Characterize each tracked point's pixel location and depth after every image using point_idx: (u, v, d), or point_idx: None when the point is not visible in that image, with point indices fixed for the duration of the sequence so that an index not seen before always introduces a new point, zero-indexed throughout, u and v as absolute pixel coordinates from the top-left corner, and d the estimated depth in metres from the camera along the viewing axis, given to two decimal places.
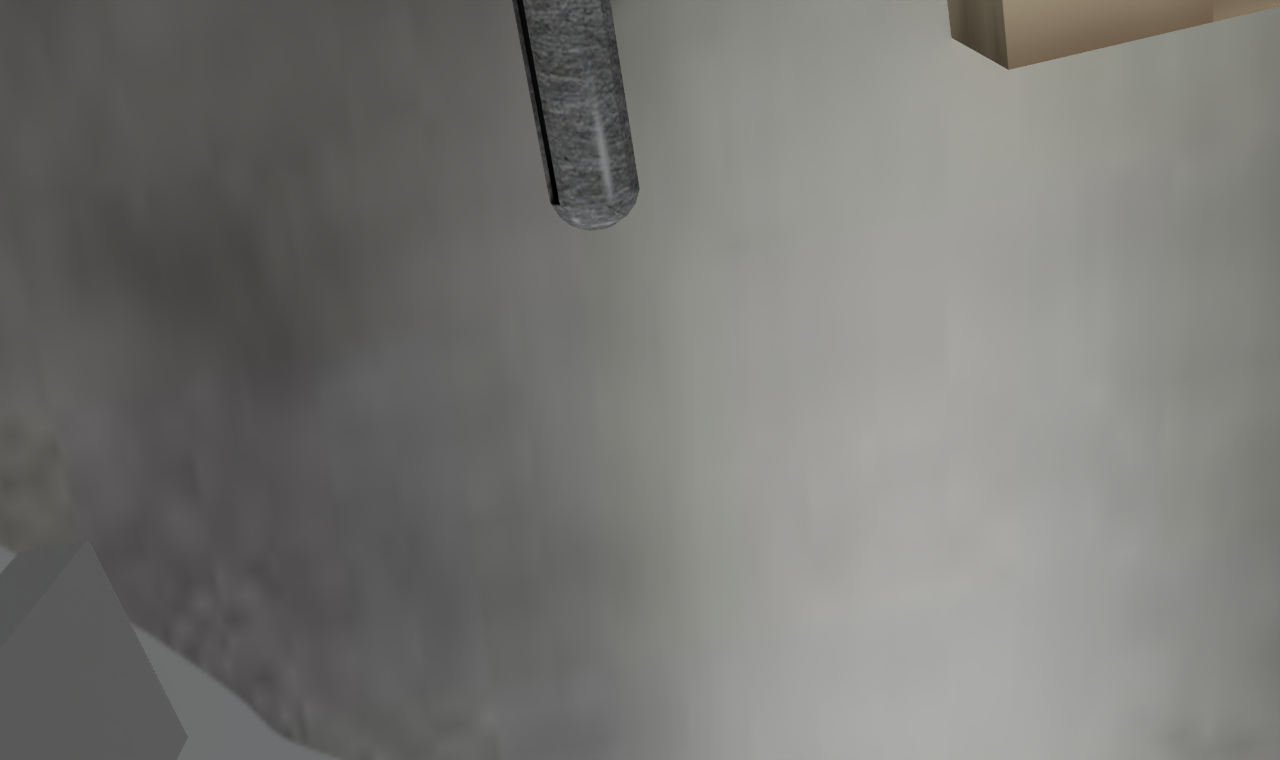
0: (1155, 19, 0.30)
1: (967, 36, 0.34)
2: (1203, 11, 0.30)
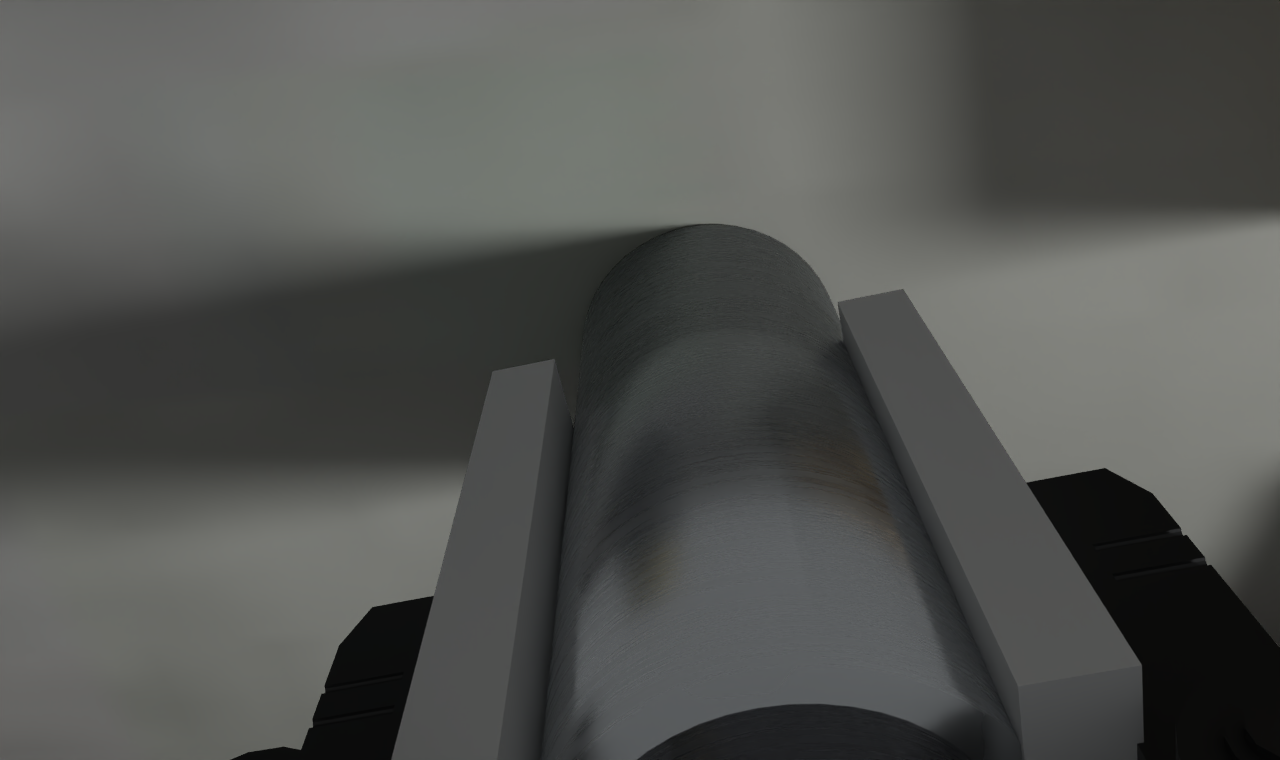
0: None
1: None
2: None
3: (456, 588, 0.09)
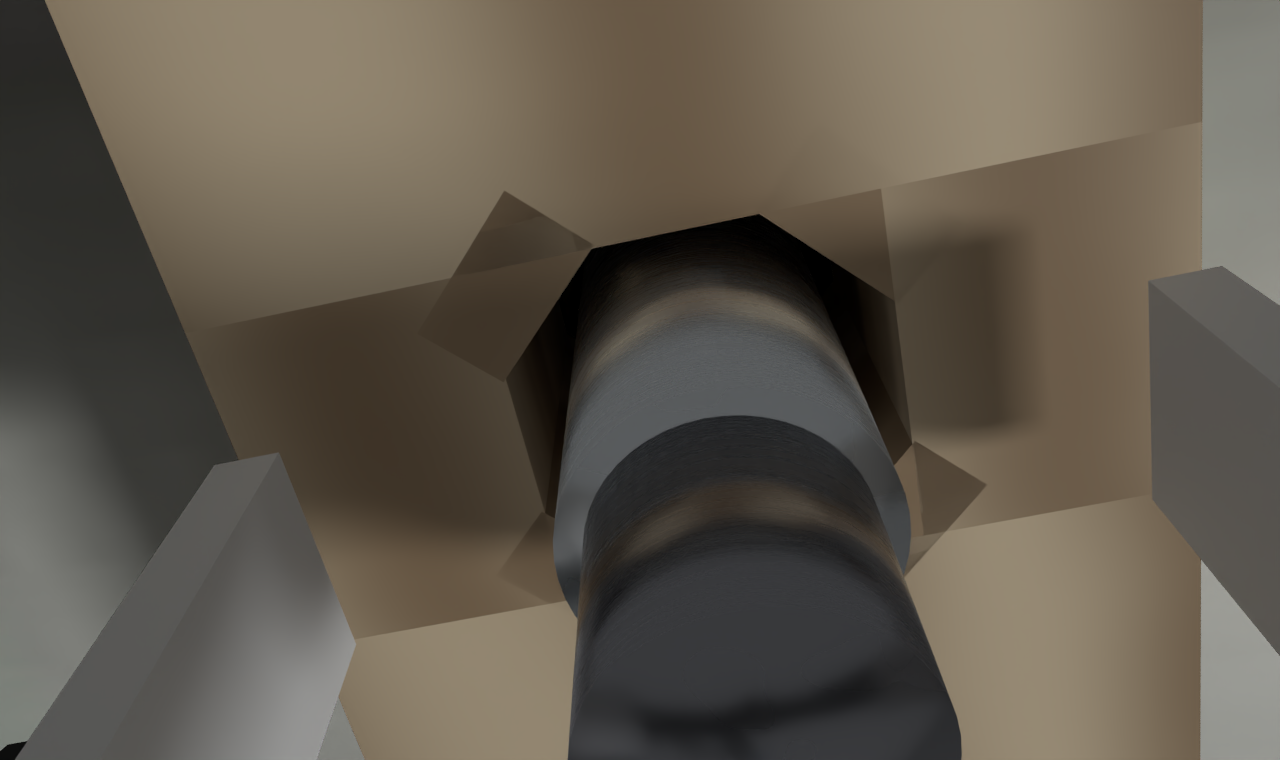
0: (1168, 588, 0.15)
1: None
2: None
3: (46, 744, 0.08)
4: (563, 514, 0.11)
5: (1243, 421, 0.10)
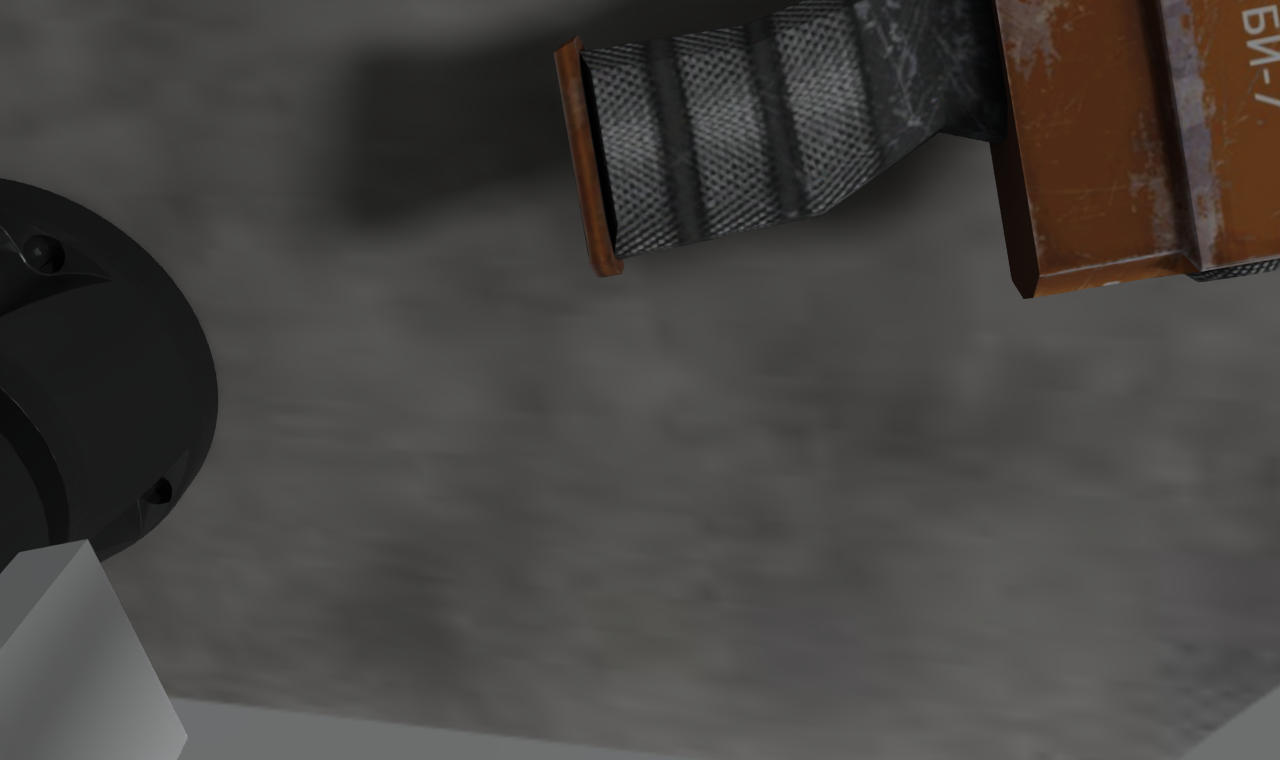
0: None
1: None
2: None
3: None
4: None
5: None
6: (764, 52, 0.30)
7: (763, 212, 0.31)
